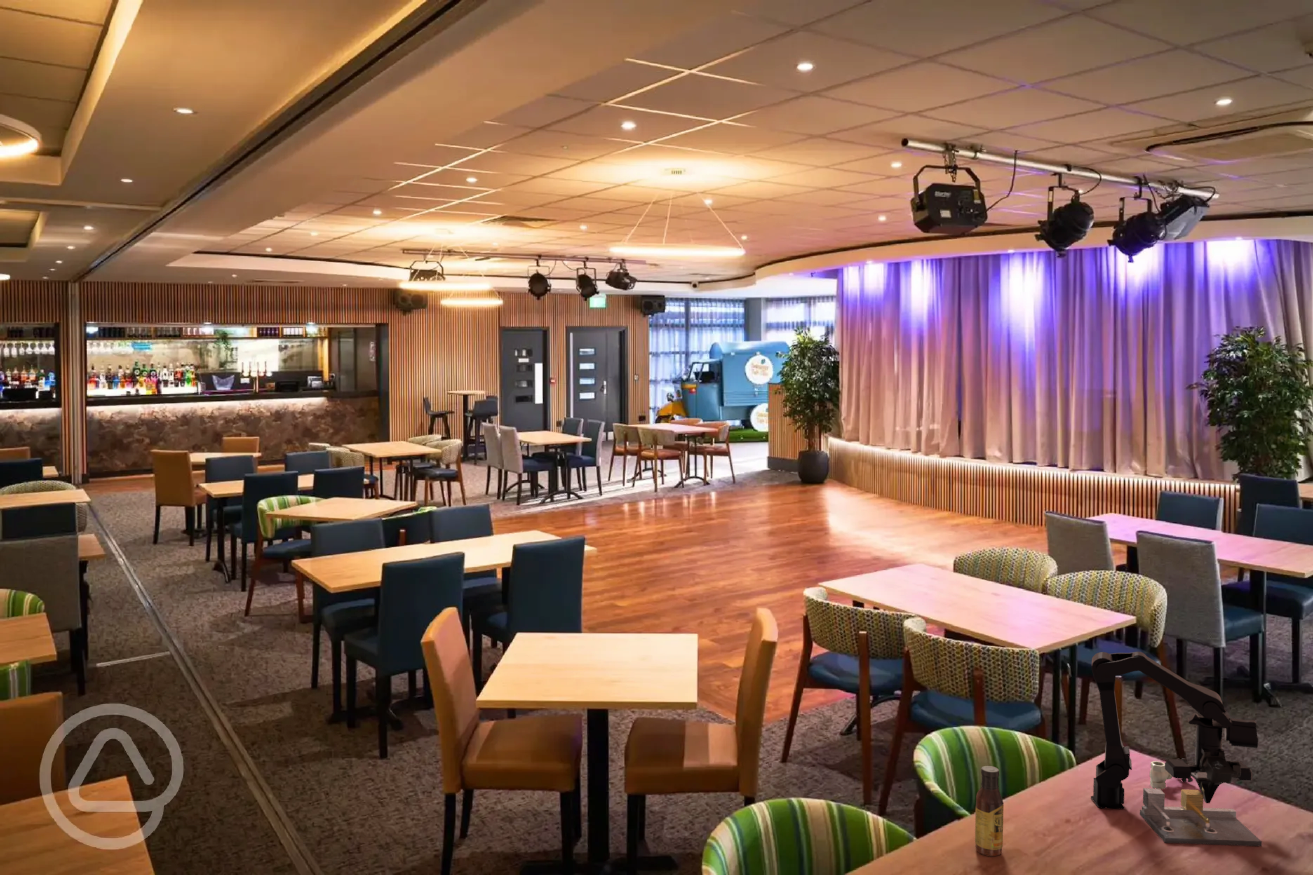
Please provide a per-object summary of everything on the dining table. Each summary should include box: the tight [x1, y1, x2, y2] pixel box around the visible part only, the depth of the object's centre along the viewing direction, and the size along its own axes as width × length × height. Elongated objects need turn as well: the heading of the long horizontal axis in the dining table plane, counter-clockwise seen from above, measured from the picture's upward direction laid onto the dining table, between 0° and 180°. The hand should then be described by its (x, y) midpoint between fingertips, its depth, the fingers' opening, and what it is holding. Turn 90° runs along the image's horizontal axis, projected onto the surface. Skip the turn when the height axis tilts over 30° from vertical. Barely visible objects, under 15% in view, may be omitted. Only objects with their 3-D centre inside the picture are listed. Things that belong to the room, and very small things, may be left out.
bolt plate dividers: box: [1139, 787, 1263, 847], centre depth 237 cm, size 22×15×7 cm
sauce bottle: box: [974, 765, 1004, 857], centre depth 227 cm, size 6×6×20 cm
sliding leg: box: [1180, 789, 1210, 830], centre depth 239 cm, size 4×10×6 cm, turn 174°
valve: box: [1149, 758, 1194, 791], centre depth 263 cm, size 7×7×12 cm
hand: (1207, 802), depth 242 cm, fingers closed
